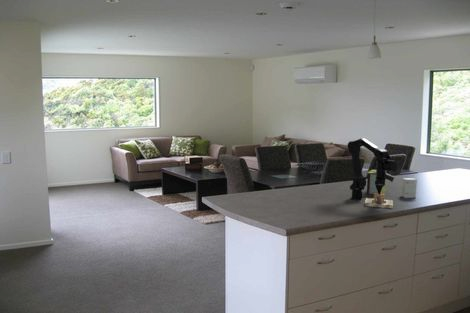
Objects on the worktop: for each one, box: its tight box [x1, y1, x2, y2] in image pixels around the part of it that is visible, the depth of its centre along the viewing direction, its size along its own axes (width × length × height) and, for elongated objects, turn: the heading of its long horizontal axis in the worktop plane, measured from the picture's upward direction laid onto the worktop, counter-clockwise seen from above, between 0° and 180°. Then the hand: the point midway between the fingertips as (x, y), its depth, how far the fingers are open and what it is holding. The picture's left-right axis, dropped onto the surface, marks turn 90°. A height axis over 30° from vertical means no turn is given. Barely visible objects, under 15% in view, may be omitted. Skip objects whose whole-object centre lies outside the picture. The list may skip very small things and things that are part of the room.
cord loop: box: [373, 193, 386, 203], centre depth 319 cm, size 6×3×10 cm, turn 72°
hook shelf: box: [364, 197, 394, 209], centre depth 320 cm, size 17×15×6 cm
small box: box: [400, 177, 418, 199], centre depth 345 cm, size 8×6×13 cm
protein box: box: [366, 169, 387, 195], centre depth 357 cm, size 10×15×16 cm
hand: (379, 193), depth 319 cm, fingers open, 9 cm apart
